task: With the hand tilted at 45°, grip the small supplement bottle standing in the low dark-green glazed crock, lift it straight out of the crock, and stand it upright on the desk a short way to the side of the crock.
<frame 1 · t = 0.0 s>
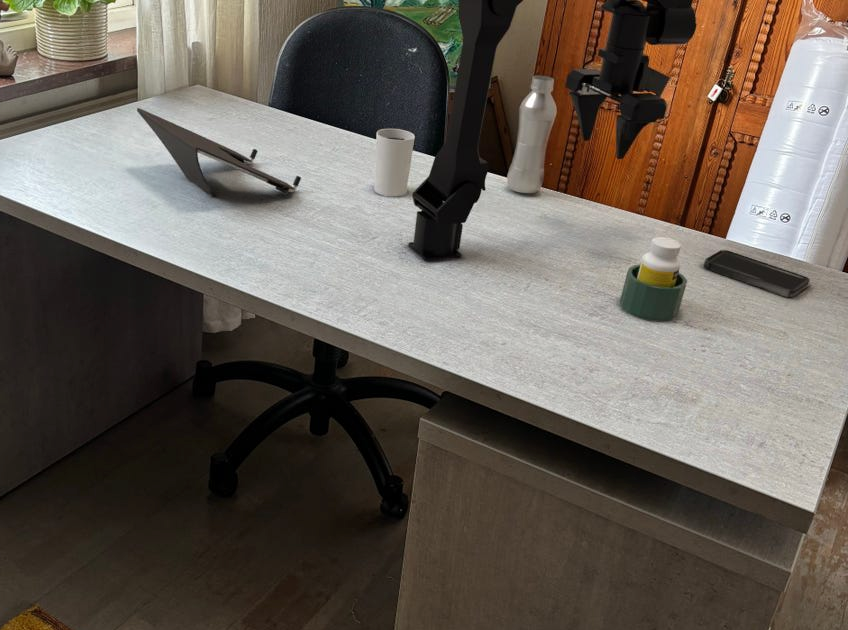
hand: (602, 149, 155), 15 cm above the table, tool pointing down, fingers open, 9 cm apart
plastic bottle: (522, 192, 180), on the table
supplement bottle: (648, 307, 142), resting on crock
laptop stand: (224, 184, 170), on the table
phone: (754, 277, 155), on the table
white cup: (390, 191, 175), on the table
crock: (648, 308, 142), on the table
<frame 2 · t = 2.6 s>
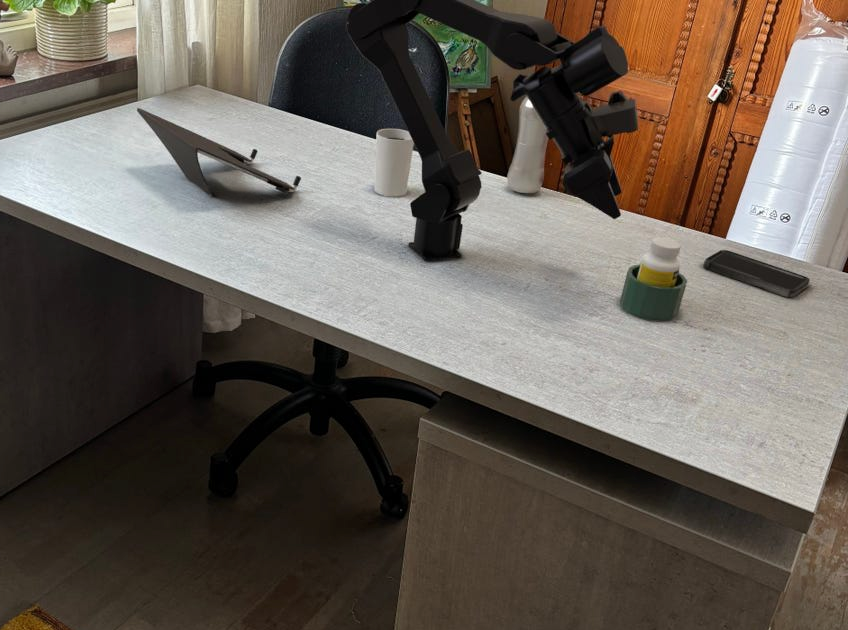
hand: (618, 205, 137), 13 cm above the table, tool tilted 40°, fingers open, 9 cm apart
nothing on the table moved.
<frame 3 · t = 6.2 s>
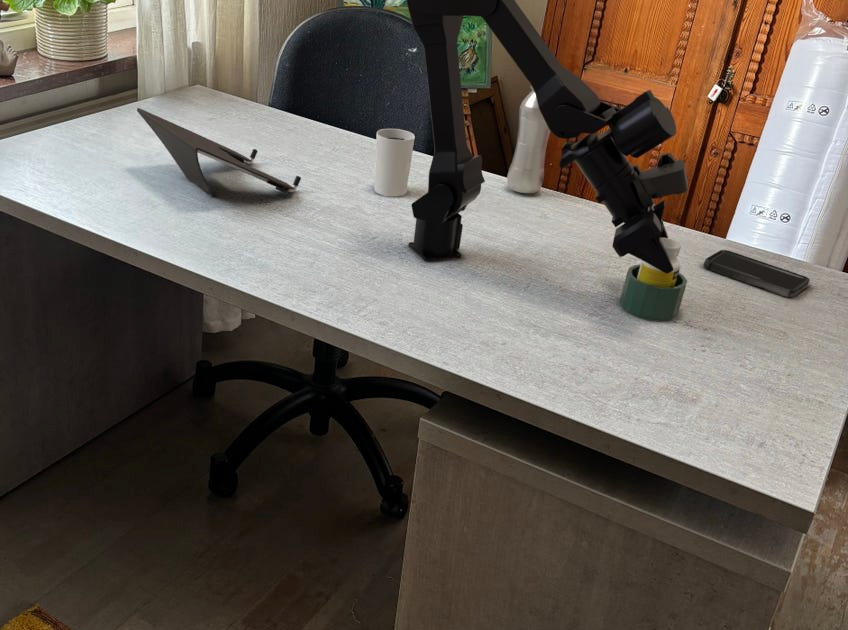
hand: (670, 264, 138), 7 cm above the table, tool tilted 45°, fingers closed on supplement bottle, 5 cm apart
supplement bottle: (648, 307, 142), resting on crock, touching gripper
everything else where it was.
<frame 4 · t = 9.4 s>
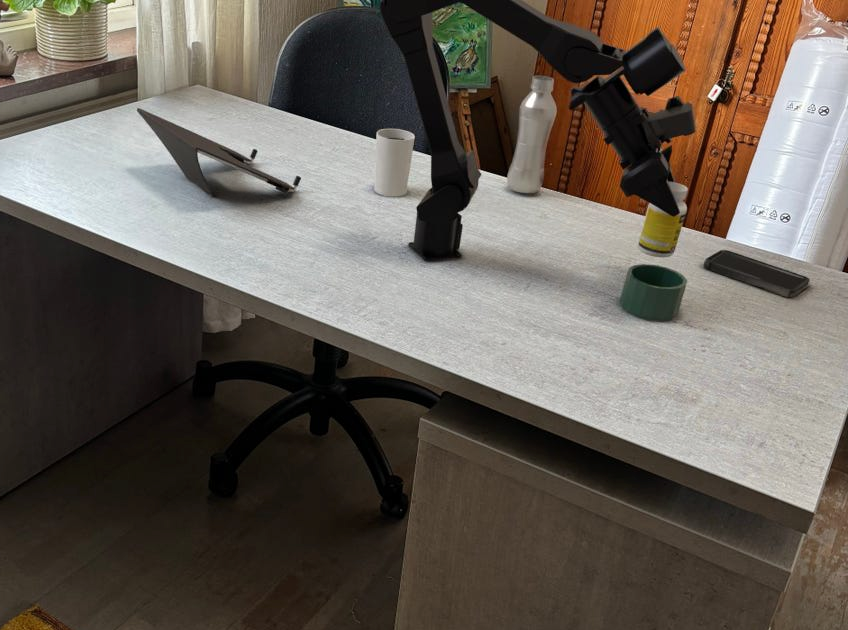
hand: (677, 208, 139), 13 cm above the table, tool tilted 45°, fingers closed on supplement bottle, 5 cm apart
supplement bottle: (654, 252, 144), point 6 cm above the table, touching gripper
everything else where it was.
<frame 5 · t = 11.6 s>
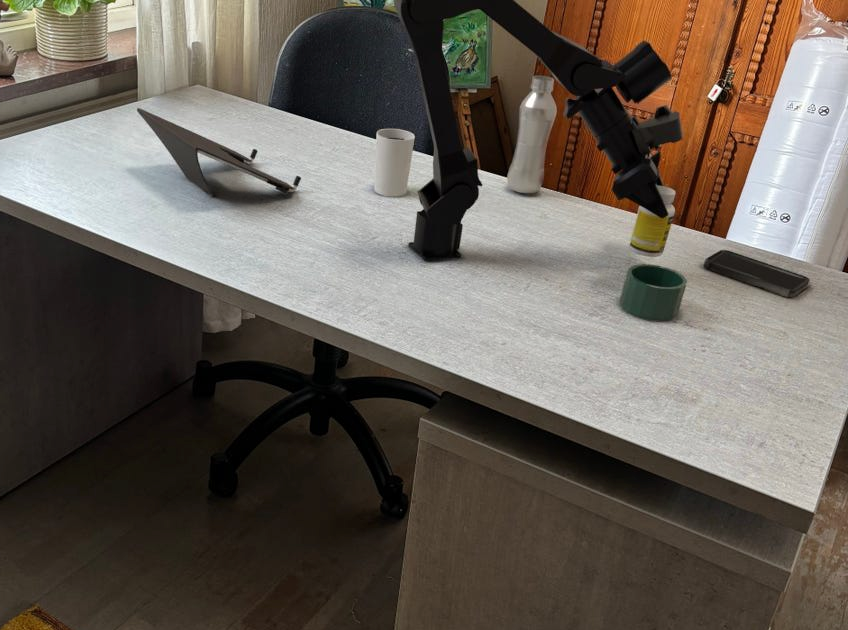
hand: (665, 210, 148), 10 cm above the table, tool tilted 45°, fingers closed on supplement bottle, 5 cm apart
supplement bottle: (645, 252, 152), point 3 cm above the table, touching gripper
everything else where it was.
when the fingers open (7 cm above the table, at t = 13.0 s): supplement bottle stays where it is, on the table.
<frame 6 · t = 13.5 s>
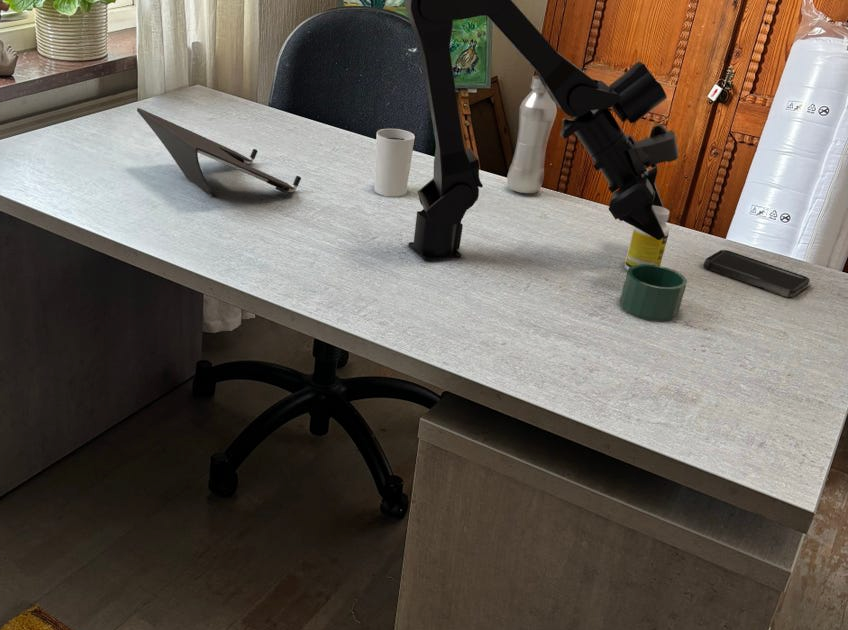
hand: (662, 228, 150), 7 cm above the table, tool tilted 45°, fingers open, 9 cm apart
supplement bottle: (640, 270, 154), on the table
everything else where it was.
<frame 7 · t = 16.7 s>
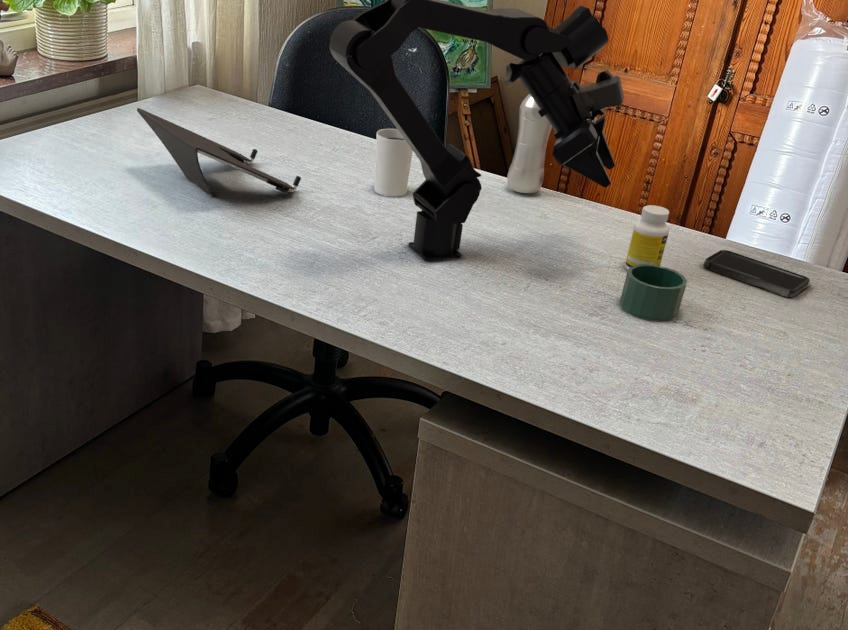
hand: (610, 176, 148), 14 cm above the table, tool tilted 45°, fingers open, 9 cm apart
nothing on the table moved.
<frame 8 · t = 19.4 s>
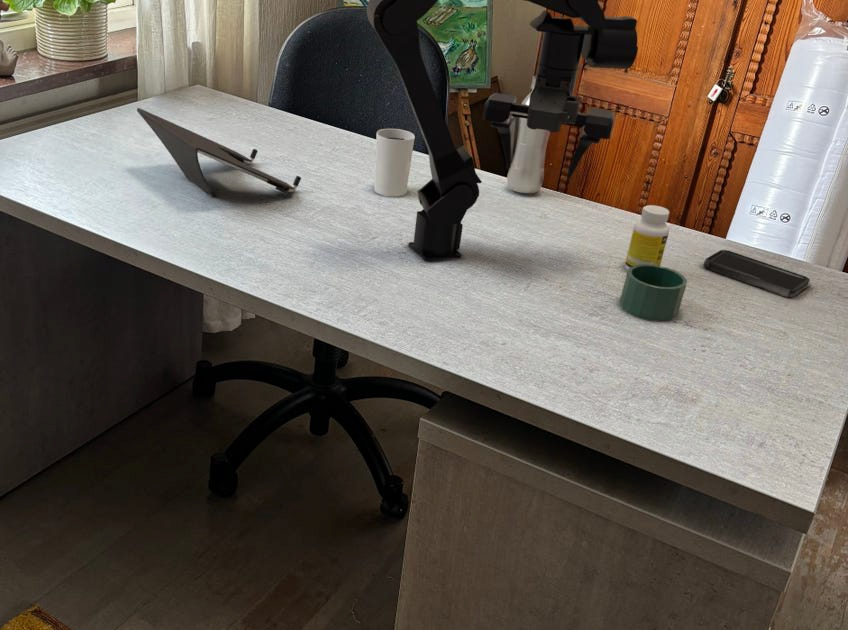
hand: (538, 173, 148), 13 cm above the table, tool pointing down, fingers open, 9 cm apart
nothing on the table moved.
at the end: supplement bottle inside the target area (0.2 cm from its centre), on the table; supplement bottle tilted 1°; supplement bottle touching table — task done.
